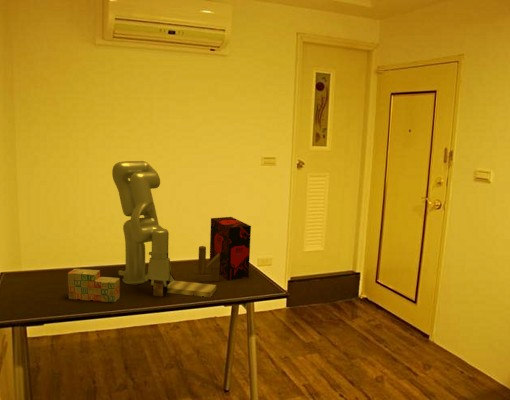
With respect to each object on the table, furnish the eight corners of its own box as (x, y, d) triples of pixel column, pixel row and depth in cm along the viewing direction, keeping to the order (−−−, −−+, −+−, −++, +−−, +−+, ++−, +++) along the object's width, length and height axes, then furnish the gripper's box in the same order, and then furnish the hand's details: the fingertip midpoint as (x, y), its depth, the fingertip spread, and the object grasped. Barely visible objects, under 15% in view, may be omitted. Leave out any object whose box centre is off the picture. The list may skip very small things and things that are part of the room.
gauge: (153, 295, 206) (153, 283, 205) (164, 284, 220) (164, 273, 219) (162, 296, 205) (162, 284, 204) (172, 285, 219) (173, 273, 218)
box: (209, 267, 249) (210, 218, 244) (229, 264, 255) (231, 216, 250) (227, 280, 229) (229, 227, 224) (248, 277, 235) (250, 225, 230)
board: (153, 291, 211) (153, 286, 210) (161, 283, 220) (161, 279, 220) (210, 297, 206) (211, 292, 206) (216, 289, 216) (216, 285, 216)
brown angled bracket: (219, 281, 227) (220, 247, 224) (198, 282, 225) (198, 248, 222) (218, 279, 231) (219, 245, 228) (197, 279, 228) (198, 245, 225)
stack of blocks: (120, 297, 202) (120, 271, 200) (114, 303, 196) (114, 276, 194) (75, 293, 204) (74, 268, 202) (68, 299, 198) (67, 272, 196)
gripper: (139, 256, 202) (139, 294, 205) (174, 259, 199) (174, 298, 203) (145, 251, 209) (145, 288, 212) (180, 254, 207) (179, 292, 210)
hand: (159, 292), depth 207 cm, fingers closed on gauge, 4 cm apart
